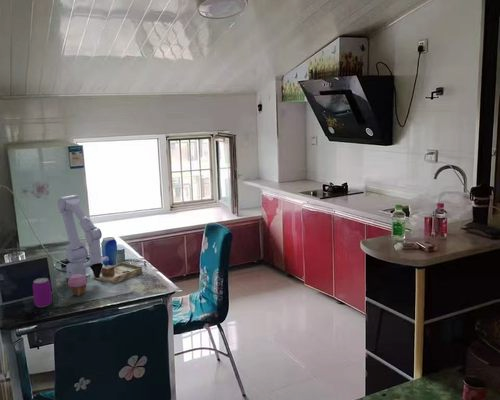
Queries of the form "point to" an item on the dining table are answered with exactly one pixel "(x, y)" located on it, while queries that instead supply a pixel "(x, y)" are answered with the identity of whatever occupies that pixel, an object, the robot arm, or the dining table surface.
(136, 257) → the dining table surface
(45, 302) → the beverage can
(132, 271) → the divided beige tray
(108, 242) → the beer can
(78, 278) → the cupcake
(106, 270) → the walnut block
